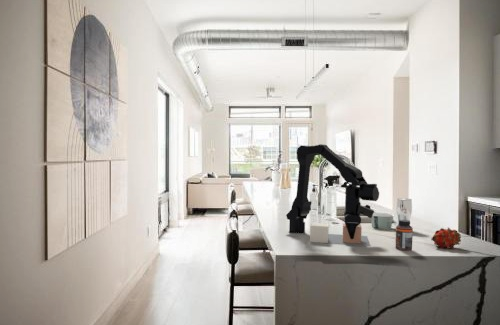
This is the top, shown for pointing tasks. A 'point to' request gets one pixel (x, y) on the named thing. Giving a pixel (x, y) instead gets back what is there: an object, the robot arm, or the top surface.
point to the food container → (382, 220)
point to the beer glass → (404, 209)
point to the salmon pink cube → (356, 236)
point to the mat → (339, 240)
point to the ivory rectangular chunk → (319, 232)
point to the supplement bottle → (404, 235)
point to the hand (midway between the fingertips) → (351, 236)
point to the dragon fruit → (446, 238)
